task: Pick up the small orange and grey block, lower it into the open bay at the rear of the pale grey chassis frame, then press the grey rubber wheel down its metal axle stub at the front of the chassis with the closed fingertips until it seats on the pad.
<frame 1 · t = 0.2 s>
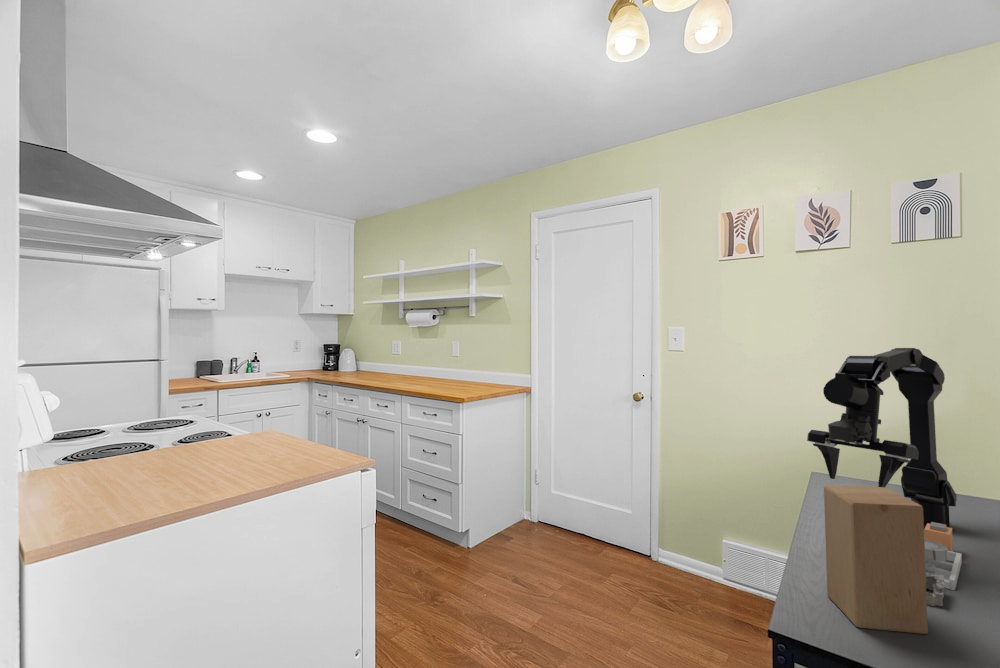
hand: (855, 484, 100), 15 cm above the table, tool pointing down, fingers open, 9 cm apart
wooden block: (874, 615, 78), on the table
chassis: (932, 569, 93), on the table
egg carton: (905, 592, 85), on the table
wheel: (928, 549, 90), point 5 cm above the table, slide at 3.0 cm
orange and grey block: (939, 552, 101), on the table
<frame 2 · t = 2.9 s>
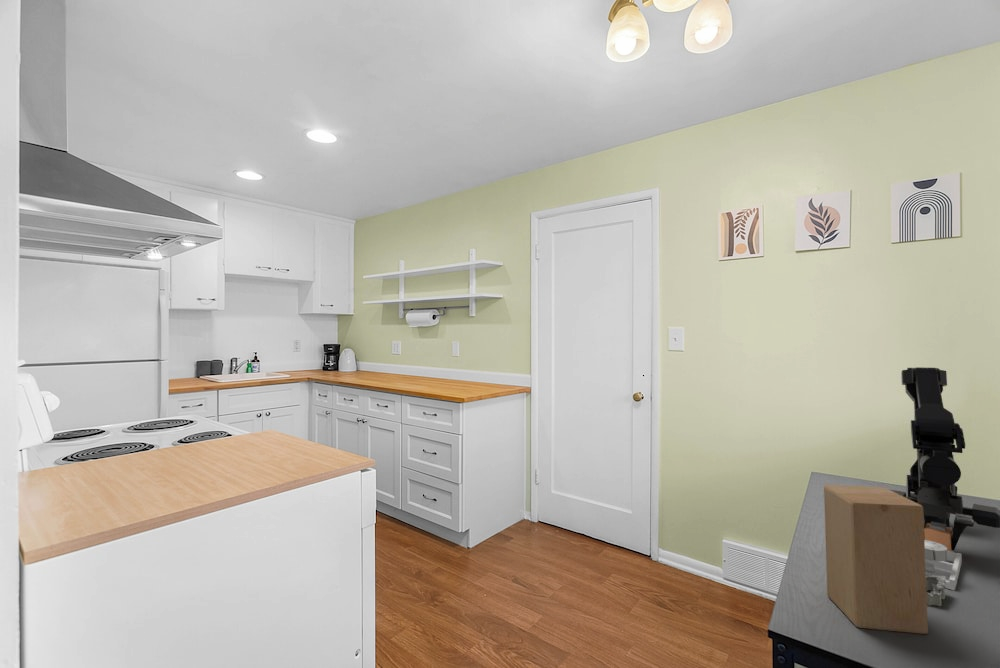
hand: (938, 546, 101), 1 cm above the table, tool pointing down, fingers closed on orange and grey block, 4 cm apart
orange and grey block: (939, 551, 101), on the table, touching gripper
everything else where it was.
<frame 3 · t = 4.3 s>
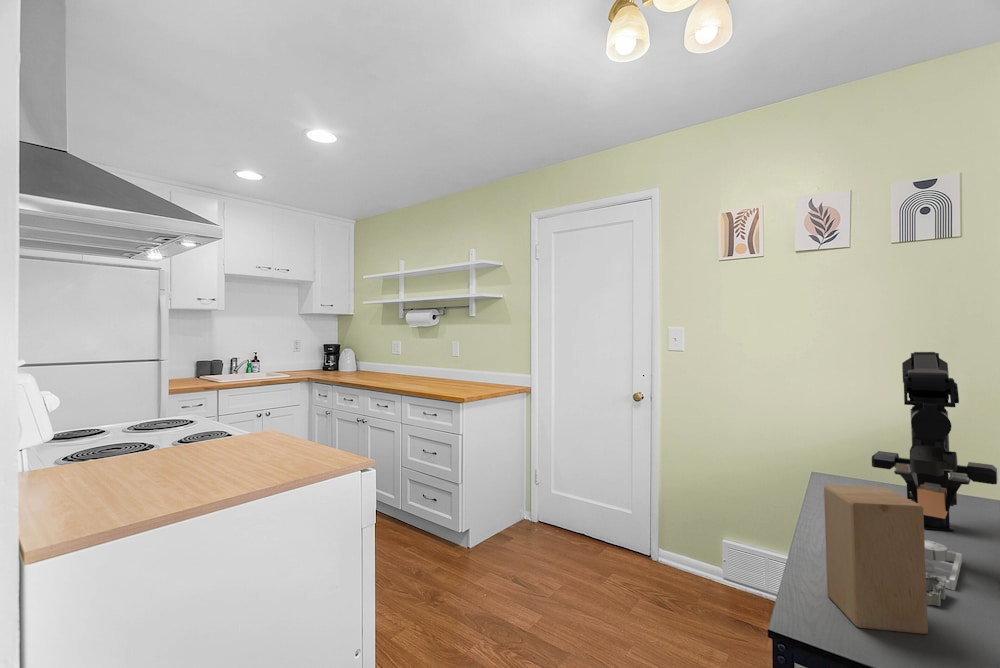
hand: (932, 508, 96), 11 cm above the table, tool pointing down, fingers closed on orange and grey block, 4 cm apart
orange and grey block: (932, 513, 96), point 10 cm above the table, touching gripper
everything else where it was.
when the fingers open (3 cm above the table, at t = 6.1 s): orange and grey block drops 2 cm, resting in chassis.
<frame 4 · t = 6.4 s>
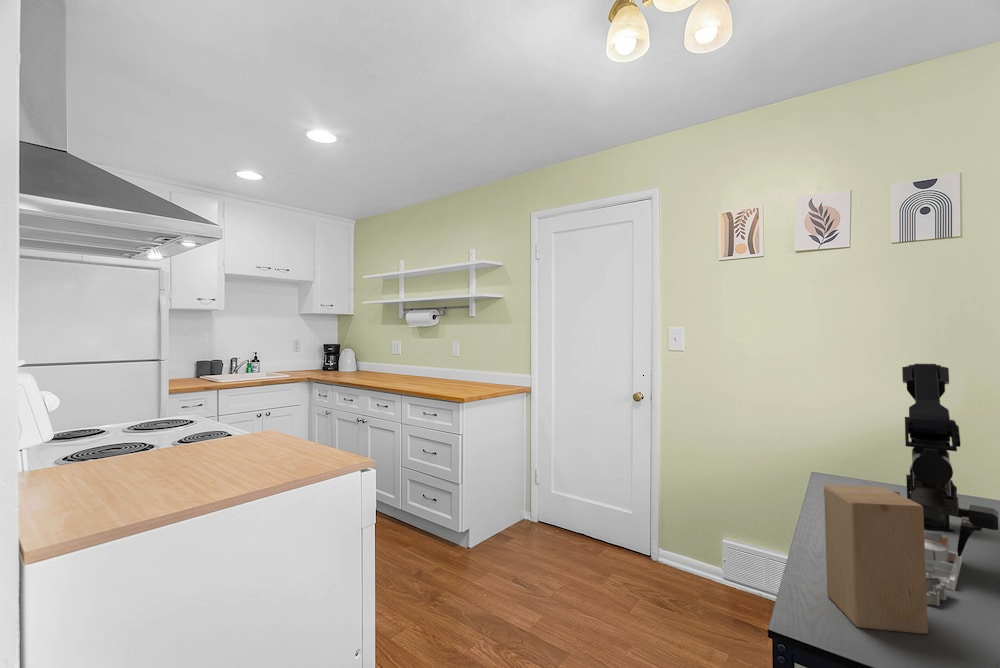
hand: (933, 549, 96), 3 cm above the table, tool pointing down, fingers open, 7 cm apart
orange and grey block: (934, 563, 96), resting in chassis
everything else where it was.
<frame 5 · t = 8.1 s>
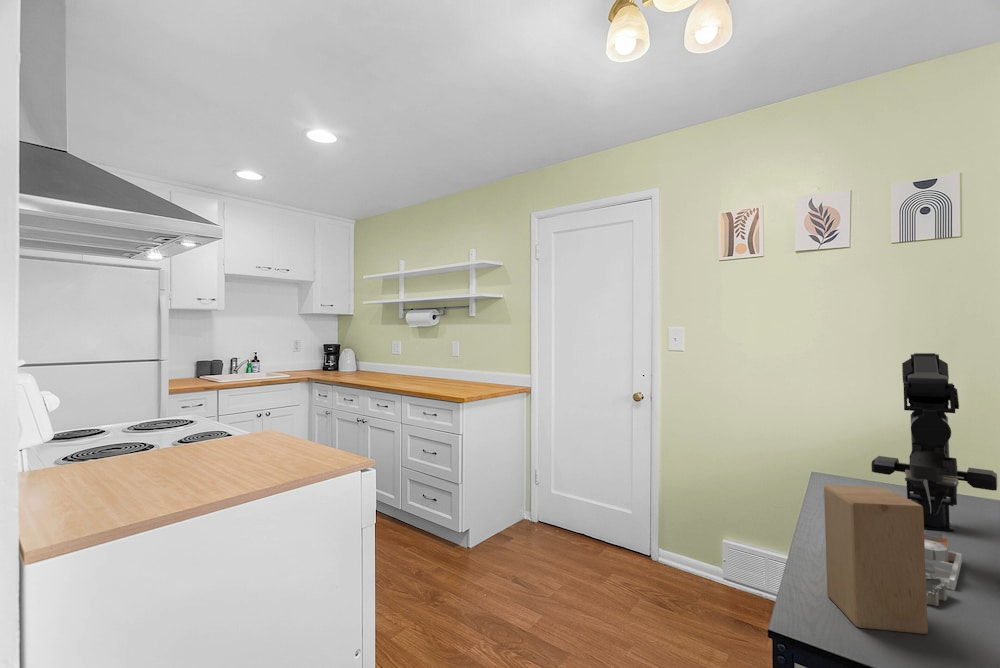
hand: (932, 513, 96), 10 cm above the table, tool pointing down, fingers closed
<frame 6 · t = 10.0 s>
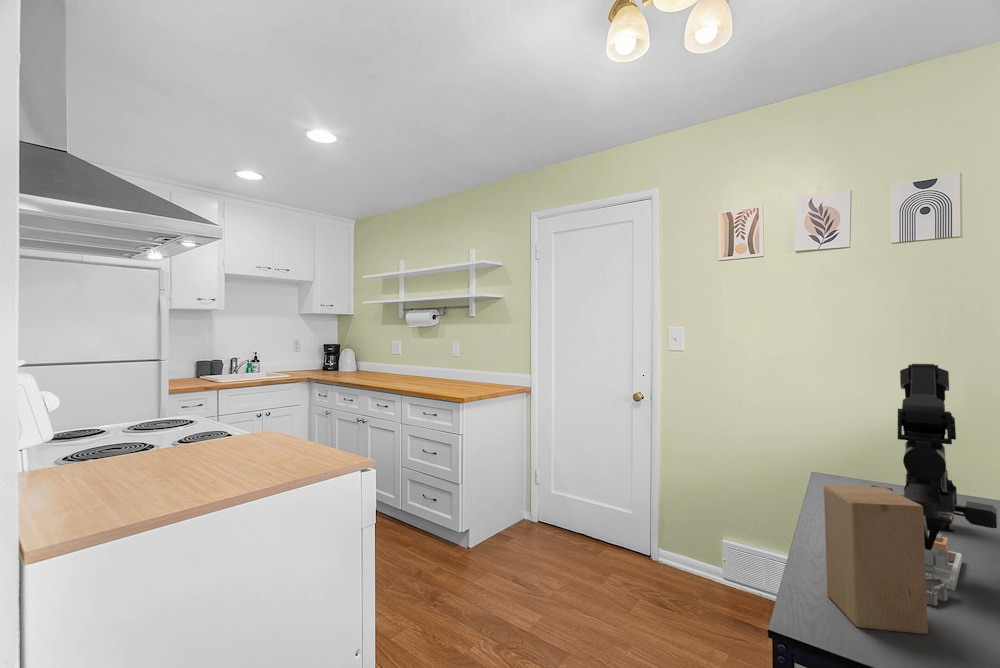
hand: (928, 549, 90), 5 cm above the table, tool pointing down, fingers closed, pressing on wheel
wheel: (928, 554, 90), point 4 cm above the table, slide at 2.0 cm, touching gripper
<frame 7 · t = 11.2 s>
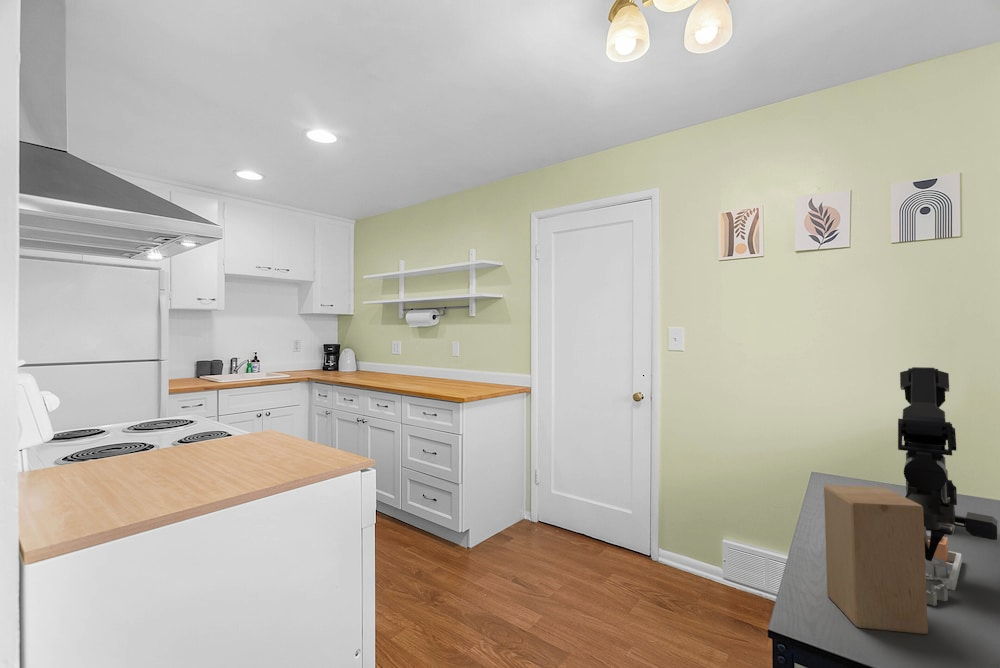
hand: (929, 559, 90), 3 cm above the table, tool pointing down, fingers closed
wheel: (929, 565, 90), point 2 cm above the table, slide at 0.0 cm
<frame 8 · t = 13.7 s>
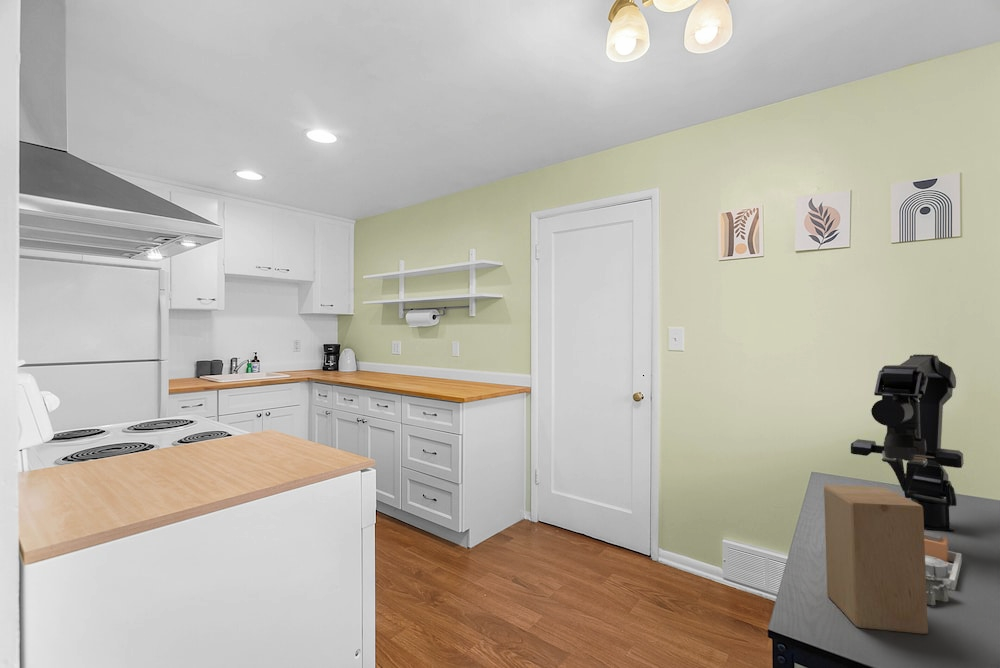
hand: (905, 491, 105), 12 cm above the table, tool pointing down, fingers closed
at the end: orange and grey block 0.0 cm from the target spot, resting in chassis; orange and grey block tilted 0°; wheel slide at 0.0 cm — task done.
